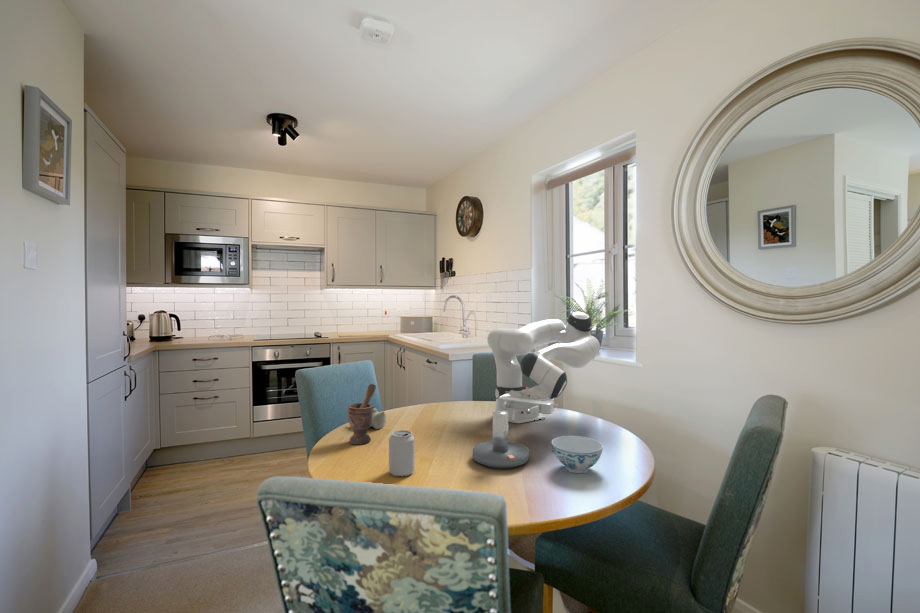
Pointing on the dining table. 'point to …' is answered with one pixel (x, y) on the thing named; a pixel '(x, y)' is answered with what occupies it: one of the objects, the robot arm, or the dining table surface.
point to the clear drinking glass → (500, 431)
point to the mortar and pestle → (361, 418)
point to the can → (401, 453)
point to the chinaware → (577, 452)
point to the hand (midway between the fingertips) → (516, 409)
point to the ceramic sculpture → (378, 419)
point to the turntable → (500, 455)
